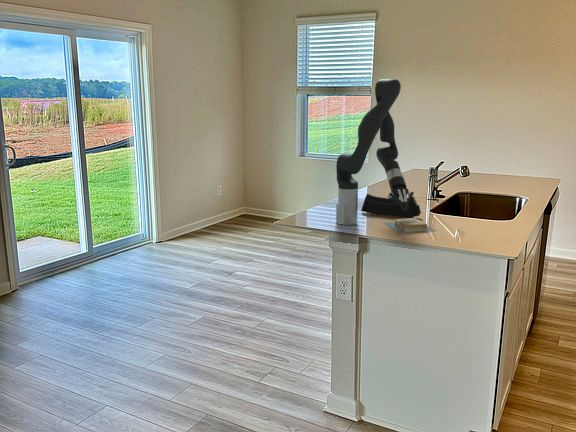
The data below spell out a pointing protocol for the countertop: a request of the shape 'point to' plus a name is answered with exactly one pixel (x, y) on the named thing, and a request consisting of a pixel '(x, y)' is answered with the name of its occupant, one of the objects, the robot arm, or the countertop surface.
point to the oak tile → (411, 224)
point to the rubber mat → (400, 231)
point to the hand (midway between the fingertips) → (405, 210)
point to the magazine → (389, 207)
